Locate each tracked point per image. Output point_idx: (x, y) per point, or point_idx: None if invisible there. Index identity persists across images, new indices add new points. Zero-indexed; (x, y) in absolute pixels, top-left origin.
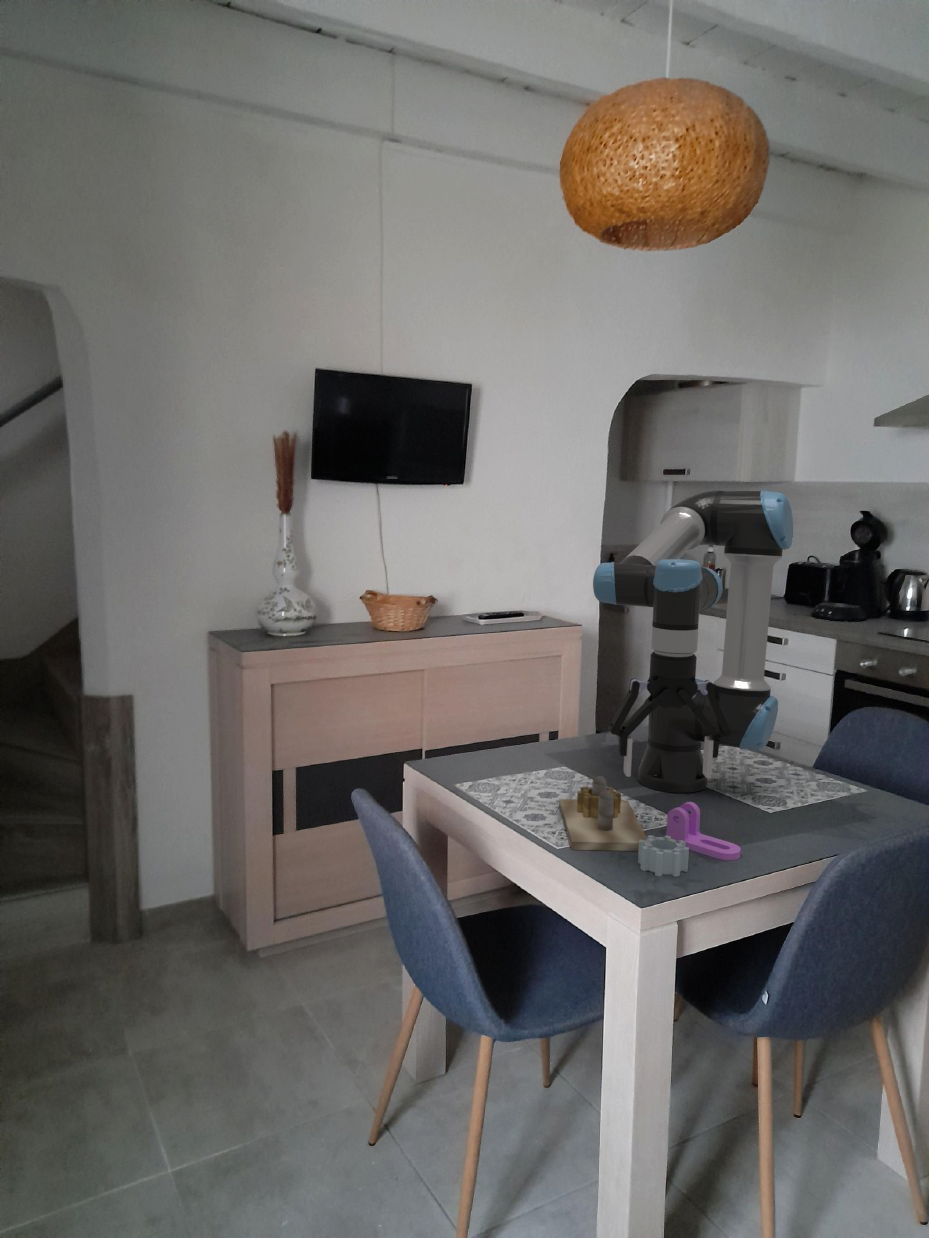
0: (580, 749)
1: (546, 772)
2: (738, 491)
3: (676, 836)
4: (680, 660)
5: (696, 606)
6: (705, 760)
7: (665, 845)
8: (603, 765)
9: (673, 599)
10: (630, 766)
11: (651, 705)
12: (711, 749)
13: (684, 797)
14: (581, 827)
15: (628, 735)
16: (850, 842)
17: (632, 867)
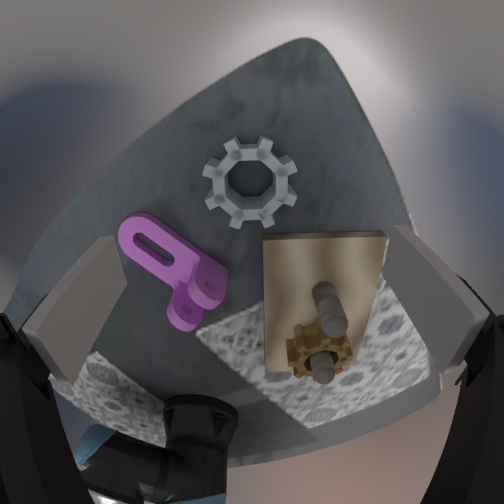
0: (282, 449)
1: (332, 417)
2: None
3: (212, 267)
4: None
5: None
6: (97, 294)
7: (242, 206)
8: (268, 433)
9: None
10: (412, 241)
11: None
12: (47, 301)
13: (188, 387)
14: (357, 288)
15: (496, 329)
16: (23, 280)
17: (303, 168)
